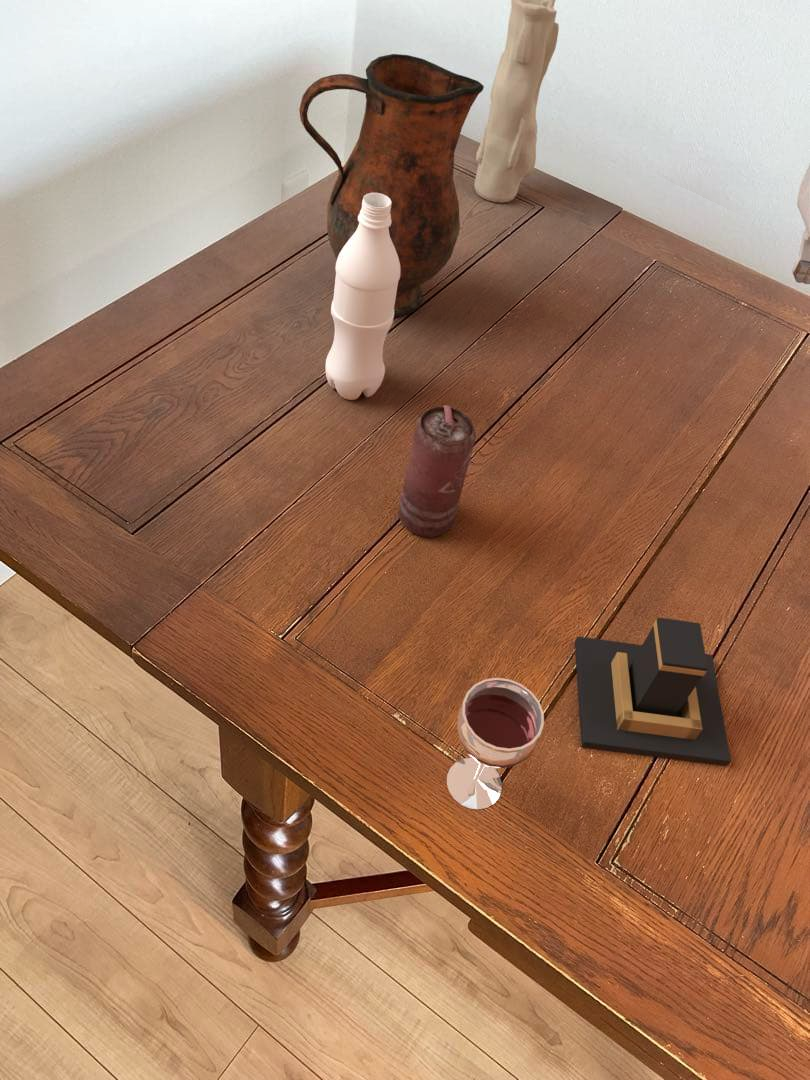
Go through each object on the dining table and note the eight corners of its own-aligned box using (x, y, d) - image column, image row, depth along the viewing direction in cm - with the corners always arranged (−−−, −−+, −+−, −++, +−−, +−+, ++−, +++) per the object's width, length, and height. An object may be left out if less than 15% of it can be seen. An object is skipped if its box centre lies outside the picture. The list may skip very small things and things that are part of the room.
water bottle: (336, 410, 115) (358, 222, 97) (315, 372, 119) (332, 185, 101) (391, 400, 118) (422, 215, 99) (368, 363, 122) (394, 179, 103)
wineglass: (475, 735, 89) (503, 663, 80) (527, 789, 86) (562, 721, 77) (420, 776, 86) (443, 705, 77) (473, 834, 83) (503, 767, 74)
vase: (489, 173, 158) (533, -27, 135) (533, 194, 155) (585, -6, 133) (461, 191, 153) (502, -13, 130) (506, 214, 150) (556, 9, 128)
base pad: (708, 659, 99) (719, 643, 96) (726, 766, 91) (739, 750, 88) (574, 641, 98) (582, 624, 96) (581, 747, 90) (590, 731, 88)
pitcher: (456, 332, 129) (505, 111, 106) (297, 336, 123) (313, 104, 101) (428, 260, 139) (467, 44, 116) (280, 260, 134) (291, 35, 111)
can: (446, 495, 109) (469, 401, 98) (457, 538, 105) (483, 444, 94) (393, 497, 107) (411, 401, 97) (403, 540, 103) (423, 445, 93)
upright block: (667, 676, 95) (700, 622, 89) (673, 721, 92) (708, 669, 85) (626, 670, 95) (657, 616, 88) (631, 715, 92) (663, 663, 85)
